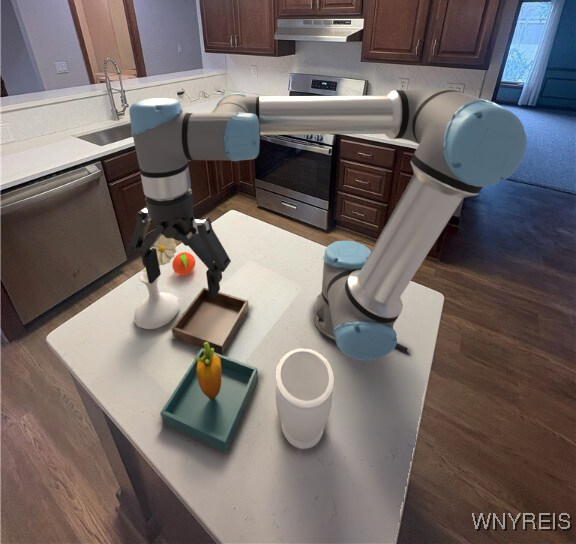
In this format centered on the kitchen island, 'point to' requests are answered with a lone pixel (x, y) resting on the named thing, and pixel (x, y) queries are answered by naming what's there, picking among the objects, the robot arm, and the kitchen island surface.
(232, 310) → the tray
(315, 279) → the kitchen island surface
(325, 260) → the robot arm
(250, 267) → the kitchen island surface
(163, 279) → the kitchen island surface
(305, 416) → the jar
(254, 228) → the kitchen island surface
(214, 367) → the carrot
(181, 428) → the tray
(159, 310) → the flower in vase
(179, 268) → the clementine
